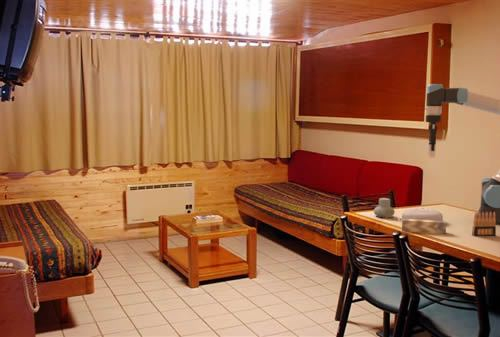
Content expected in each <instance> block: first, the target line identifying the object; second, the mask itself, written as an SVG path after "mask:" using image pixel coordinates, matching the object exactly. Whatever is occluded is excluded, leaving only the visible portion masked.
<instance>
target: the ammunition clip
mask: <svg viewBox="0 0 500 337" xmlns="http://www.w3.org/2000/svg"><path fill="white" fill-rule="evenodd" d="M477 213H478V211H475V213H474V217H473V218H474V219H473V225H472V231H471V232H472V233H471V236H472V237H496V234H497V233H496V232H497V227H496V224H495V223H496V220H495V212H494V213H493V217H492V214H491V212H490V214H489V220H488V212H486V215H485V220H484V212H483V213H482V218H481V213H480V212H479V214H478V220H477Z"/></svg>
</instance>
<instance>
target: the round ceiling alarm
mask: <svg viewBox="0 0 500 337" xmlns="http://www.w3.org/2000/svg"><path fill="white" fill-rule="evenodd" d="M443 217H444V216H443V214H442V212H440V211H438V210H436V209H433V208H425V207H423V208H421V209H413V208H412V209H407V210H404V211H403V212H402V213H401V218H400V219H399V220H400V221H402V219H419V220H436V221H444V220H443Z"/></svg>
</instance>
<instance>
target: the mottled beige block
mask: <svg viewBox="0 0 500 337" xmlns="http://www.w3.org/2000/svg"><path fill="white" fill-rule="evenodd" d="M401 222H402V224H401V232H406V233H407V232H411V233H426V234H439V235H440V234H441V235H447V221H446V220H443V221H436V220H419V219H401Z"/></svg>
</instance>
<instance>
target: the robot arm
mask: <svg viewBox="0 0 500 337" xmlns="http://www.w3.org/2000/svg"><path fill="white" fill-rule="evenodd" d="M442 104H456V105H460V106H465V107H469V108H472V109H475V110H478V111H479V110H480V111H483V112H486V113H487V112H488V113H490V114H494V115H498V116H500V99H499V98H494V97H490V96H487V95H483V94H479V93H475V92H472V91H468V88H466V87H444V86H443V84H442V83H429V84H428V85H427V87H426V107H425V108H424V110H425V113H426V115H425V122H426V123H429V126H428V133H429V137H428V156H429V158H436V146H437V145H436V144H437V141H436V140H437V131H438V126H437V125H438V124H439V123H441V122H442V115H441V114H443V113H442V109H443V108H442V107H443V105H442ZM436 123H438V124H436ZM480 185H481V191H480V206H479V208H478V210H477V220H478V214H479V212H480V213H481V218H482V213H483V212H484V220H485V215H486V212H488V220H489V214H490V212H491V214H492V217H493V213H494V212H495V220H496V223H495V225H500V168H499V169H498V171H497V173H496V174H495V175H493V176H491V177H490V178H489V177H484V178H482V179H481V184H480Z"/></svg>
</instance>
